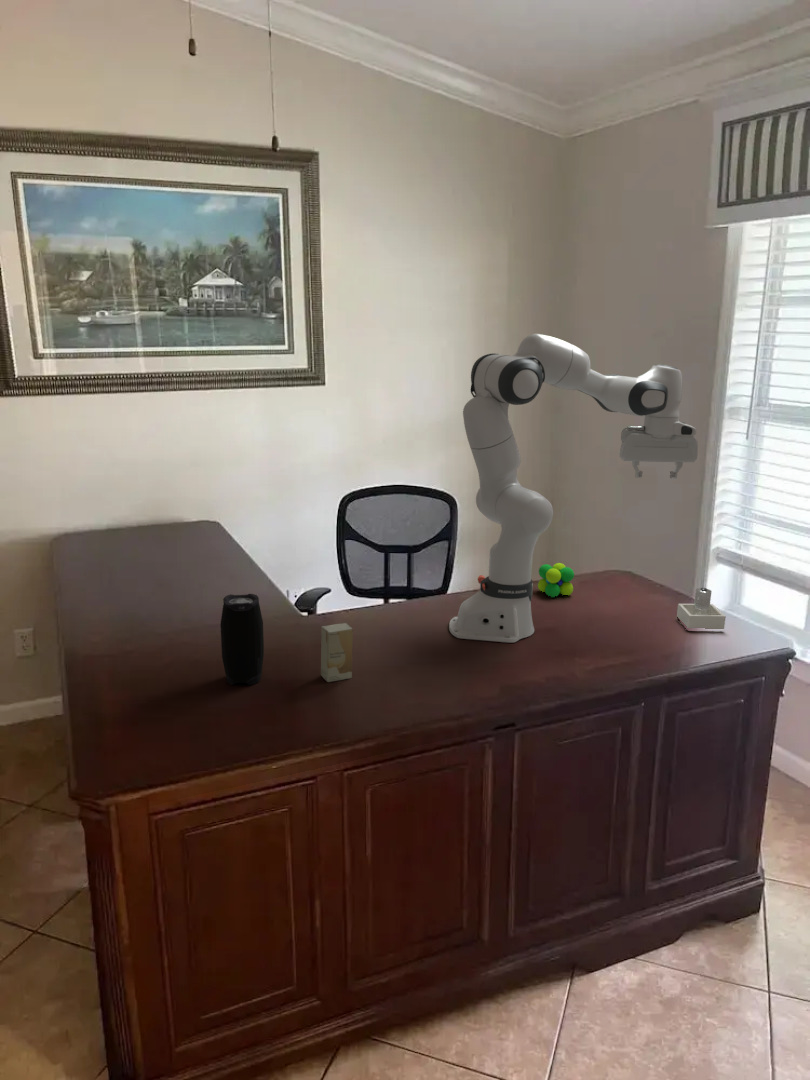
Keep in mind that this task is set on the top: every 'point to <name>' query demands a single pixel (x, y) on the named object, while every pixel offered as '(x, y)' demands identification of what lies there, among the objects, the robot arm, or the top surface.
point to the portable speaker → (242, 639)
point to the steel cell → (702, 601)
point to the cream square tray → (701, 617)
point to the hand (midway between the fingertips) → (655, 477)
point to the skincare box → (336, 652)
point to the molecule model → (555, 579)
